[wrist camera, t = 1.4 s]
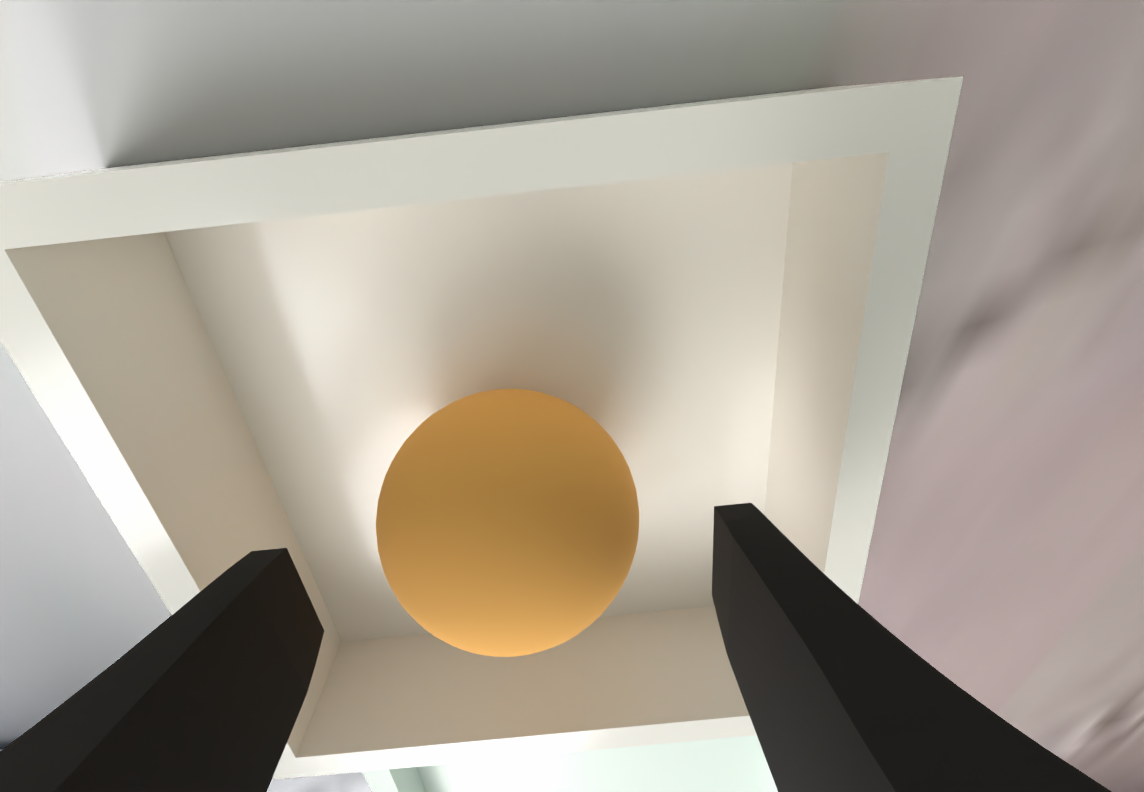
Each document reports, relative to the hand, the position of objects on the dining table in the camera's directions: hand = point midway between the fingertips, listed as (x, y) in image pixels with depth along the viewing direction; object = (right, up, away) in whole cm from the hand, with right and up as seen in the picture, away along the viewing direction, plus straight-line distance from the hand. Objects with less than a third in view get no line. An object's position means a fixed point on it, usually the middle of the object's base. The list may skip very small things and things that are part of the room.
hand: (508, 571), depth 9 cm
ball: (0, +1, +1) cm, 2 cm away
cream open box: (0, +2, +4) cm, 4 cm away
